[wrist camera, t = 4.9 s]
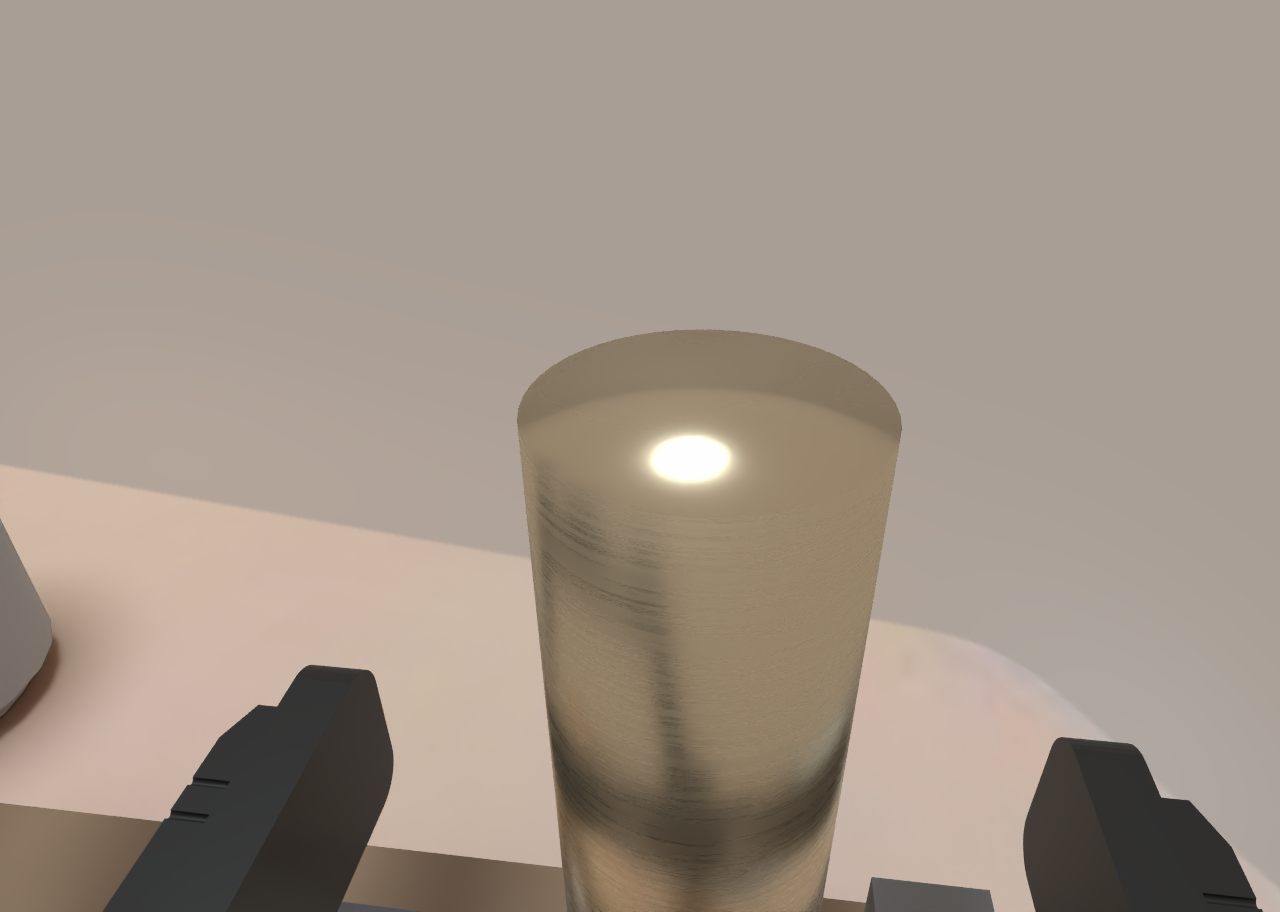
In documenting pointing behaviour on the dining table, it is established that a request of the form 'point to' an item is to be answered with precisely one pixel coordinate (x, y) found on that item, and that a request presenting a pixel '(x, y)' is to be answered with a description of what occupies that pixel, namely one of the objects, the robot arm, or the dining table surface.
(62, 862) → the track
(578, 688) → the slider
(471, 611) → the dining table surface
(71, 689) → the dining table surface
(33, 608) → the can
